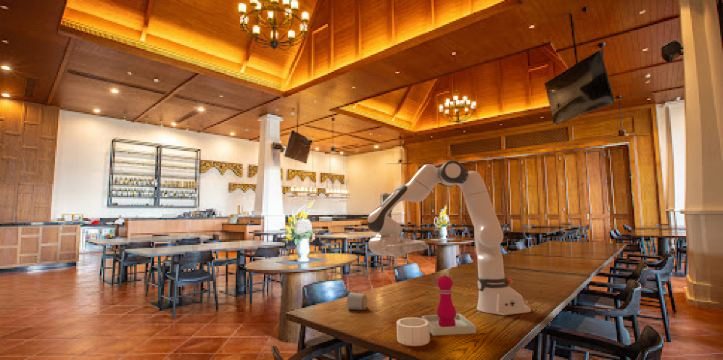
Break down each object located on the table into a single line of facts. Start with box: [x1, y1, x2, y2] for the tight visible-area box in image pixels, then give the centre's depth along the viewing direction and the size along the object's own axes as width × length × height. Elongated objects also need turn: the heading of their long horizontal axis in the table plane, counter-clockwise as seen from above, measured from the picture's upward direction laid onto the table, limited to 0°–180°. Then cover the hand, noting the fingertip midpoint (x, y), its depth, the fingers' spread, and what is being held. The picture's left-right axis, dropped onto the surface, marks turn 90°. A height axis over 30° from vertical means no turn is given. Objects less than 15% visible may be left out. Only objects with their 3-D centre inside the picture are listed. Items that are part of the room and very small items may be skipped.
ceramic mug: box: [346, 292, 368, 311], centre depth 163 cm, size 11×8×8 cm
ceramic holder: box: [396, 317, 431, 347], centre depth 119 cm, size 11×11×6 cm
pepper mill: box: [436, 271, 457, 327], centre depth 133 cm, size 7×7×20 cm
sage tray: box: [421, 313, 477, 337], centre depth 132 cm, size 16×16×2 cm
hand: (419, 247), depth 144 cm, fingers open, 8 cm apart
